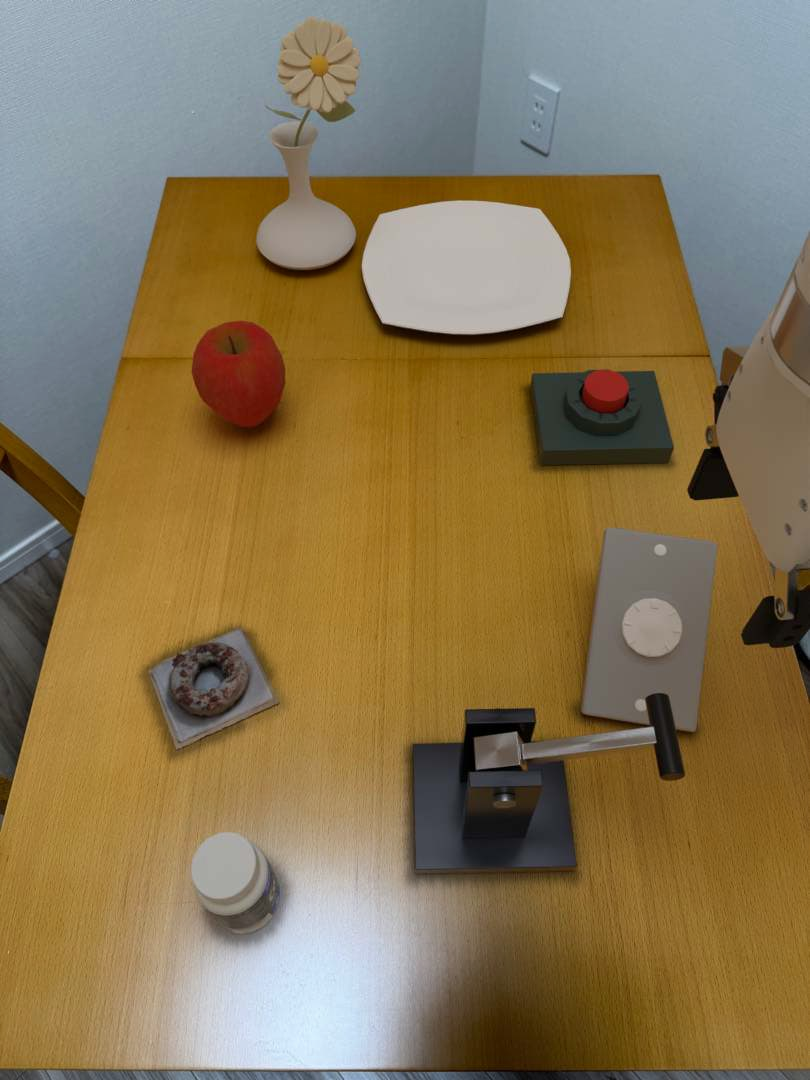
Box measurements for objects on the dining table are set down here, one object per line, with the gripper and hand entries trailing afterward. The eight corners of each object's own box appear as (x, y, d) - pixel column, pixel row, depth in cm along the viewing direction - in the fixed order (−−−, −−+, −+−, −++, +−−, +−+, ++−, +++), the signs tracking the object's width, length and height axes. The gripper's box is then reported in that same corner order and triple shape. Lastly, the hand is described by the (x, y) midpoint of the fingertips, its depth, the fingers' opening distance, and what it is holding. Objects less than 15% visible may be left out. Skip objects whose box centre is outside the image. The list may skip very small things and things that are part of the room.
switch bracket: (558, 746, 64) (583, 677, 55) (574, 871, 59) (604, 818, 49) (412, 749, 64) (411, 680, 55) (415, 874, 59) (414, 822, 50)
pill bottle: (292, 910, 58) (275, 880, 51) (228, 948, 57) (201, 922, 50) (263, 848, 60) (243, 811, 53) (201, 883, 59) (172, 849, 52)
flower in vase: (252, 279, 96) (206, 47, 76) (265, 218, 103) (227, -11, 82) (367, 281, 96) (353, 47, 75) (373, 219, 102) (362, -11, 82)
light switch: (582, 715, 64) (607, 524, 65) (575, 709, 70) (598, 534, 71) (699, 734, 63) (722, 540, 64) (681, 726, 69) (702, 548, 70)
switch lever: (670, 703, 53) (667, 687, 51) (686, 782, 50) (684, 768, 49) (480, 729, 56) (471, 715, 54) (486, 805, 53) (477, 793, 52)
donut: (244, 625, 71) (239, 613, 69) (278, 704, 67) (275, 692, 65) (146, 667, 69) (139, 655, 67) (176, 750, 65) (169, 740, 63)
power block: (649, 386, 86) (658, 356, 82) (668, 463, 80) (679, 434, 77) (529, 389, 86) (534, 359, 82) (540, 465, 80) (545, 437, 77)
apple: (231, 379, 87) (209, 293, 78) (308, 398, 85) (295, 313, 77) (192, 439, 83) (164, 355, 74) (272, 460, 81) (254, 377, 72)
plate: (362, 351, 89) (361, 336, 88) (361, 217, 102) (361, 203, 101) (583, 343, 89) (586, 329, 88) (553, 211, 103) (556, 196, 101)
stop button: (621, 382, 81) (624, 369, 80) (628, 413, 79) (632, 400, 77) (579, 383, 81) (581, 369, 80) (584, 414, 79) (587, 401, 77)
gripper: (1083, 487, 29) (866, 697, 43) (875, 193, 39) (753, 441, 53) (873, 506, 29) (723, 711, 43) (715, 204, 39) (635, 451, 53)
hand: (739, 562), depth 48 cm, fingers open, 9 cm apart
